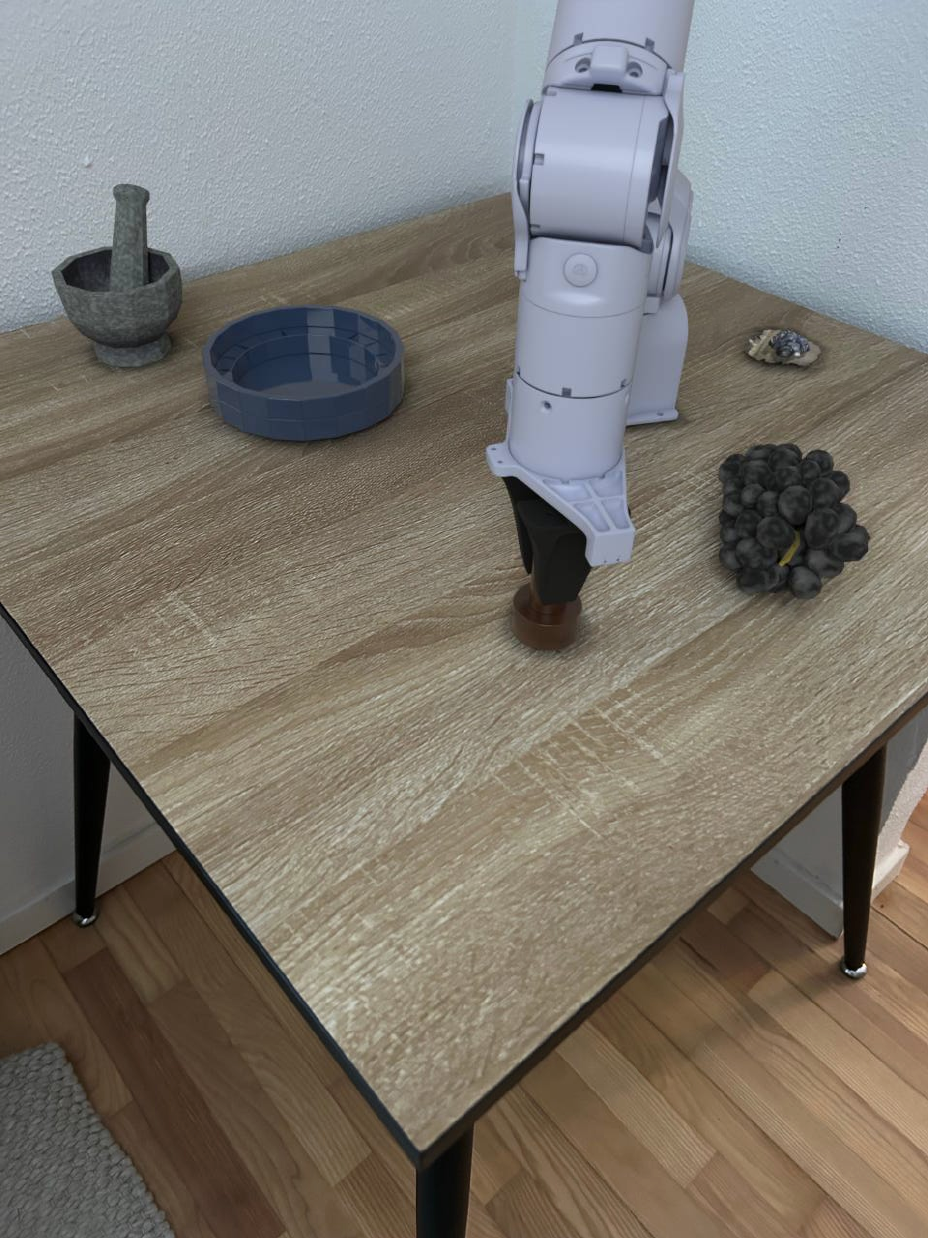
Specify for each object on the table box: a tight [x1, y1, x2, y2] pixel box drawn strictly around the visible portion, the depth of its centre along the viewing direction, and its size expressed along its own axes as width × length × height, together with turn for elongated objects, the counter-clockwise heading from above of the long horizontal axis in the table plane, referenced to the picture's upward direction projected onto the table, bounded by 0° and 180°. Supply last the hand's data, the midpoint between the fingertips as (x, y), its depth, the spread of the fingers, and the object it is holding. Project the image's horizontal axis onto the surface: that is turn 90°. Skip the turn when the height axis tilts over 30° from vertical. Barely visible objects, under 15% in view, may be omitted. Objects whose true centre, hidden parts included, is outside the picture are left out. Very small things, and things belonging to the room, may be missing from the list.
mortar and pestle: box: [51, 183, 183, 368], centre depth 79 cm, size 11×9×12 cm
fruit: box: [717, 442, 871, 601], centre depth 62 cm, size 9×8×15 cm
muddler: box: [510, 556, 583, 651], centre depth 55 cm, size 4×4×9 cm
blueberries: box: [743, 328, 822, 367], centre depth 84 cm, size 7×8×2 cm
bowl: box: [201, 303, 406, 442], centre depth 76 cm, size 15×15×4 cm
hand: (549, 583), depth 56 cm, fingers closed on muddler, 2 cm apart
